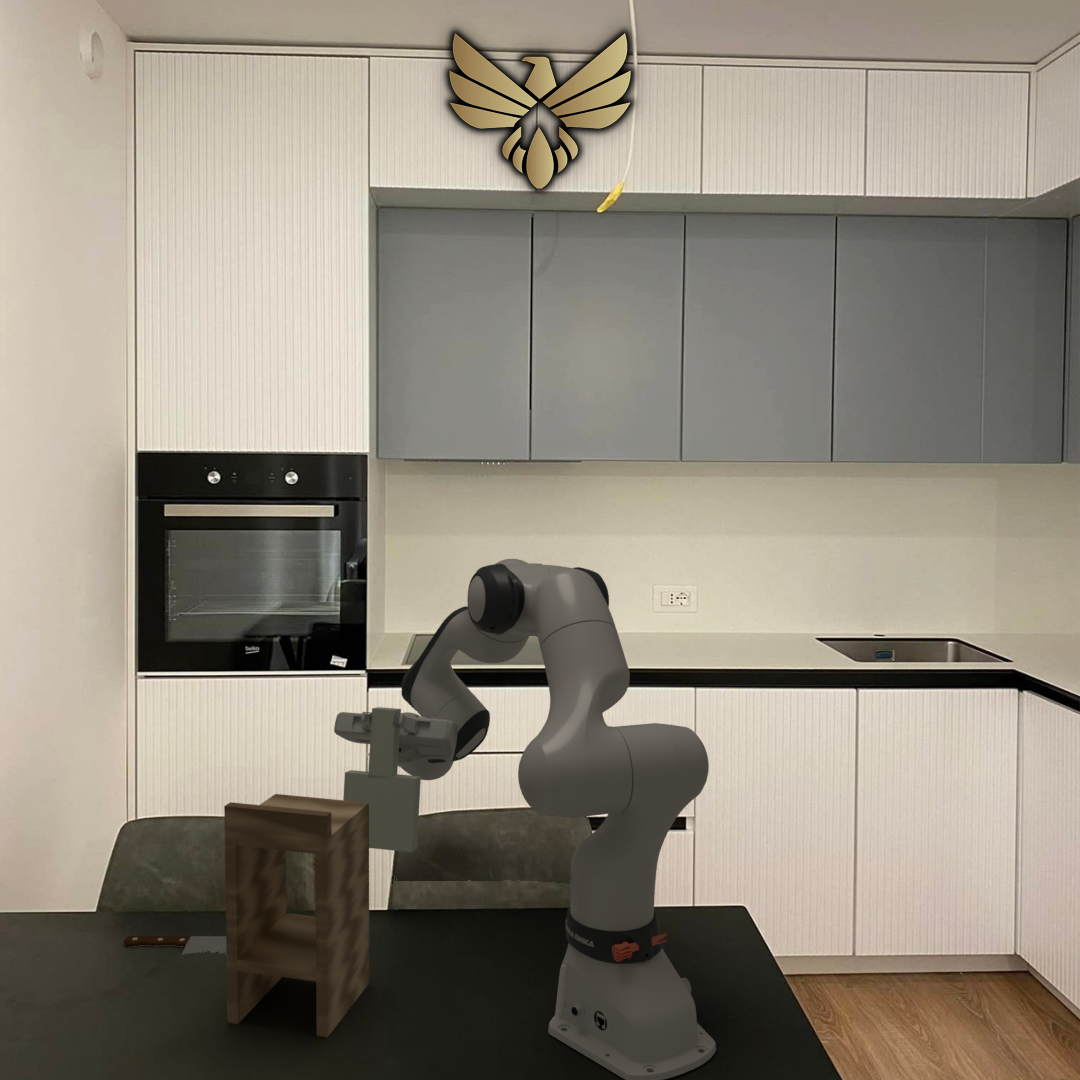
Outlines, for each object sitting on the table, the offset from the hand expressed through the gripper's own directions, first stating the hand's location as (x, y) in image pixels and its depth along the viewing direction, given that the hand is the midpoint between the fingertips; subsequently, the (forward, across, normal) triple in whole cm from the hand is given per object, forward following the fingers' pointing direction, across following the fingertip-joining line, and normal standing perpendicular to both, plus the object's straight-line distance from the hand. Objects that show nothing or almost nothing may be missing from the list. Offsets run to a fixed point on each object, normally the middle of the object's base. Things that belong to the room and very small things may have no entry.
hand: (381, 717), depth 170 cm
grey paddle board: (-7, 0, +8) cm, 10 cm away
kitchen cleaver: (+1, -20, +38) cm, 43 cm away
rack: (+10, 0, +42) cm, 43 cm away
